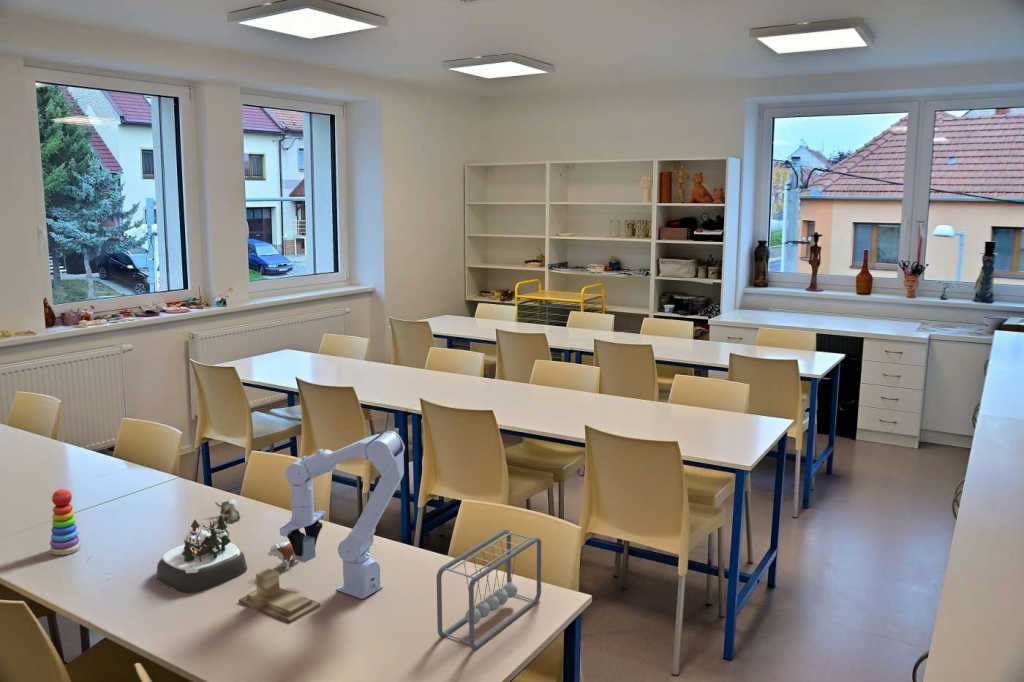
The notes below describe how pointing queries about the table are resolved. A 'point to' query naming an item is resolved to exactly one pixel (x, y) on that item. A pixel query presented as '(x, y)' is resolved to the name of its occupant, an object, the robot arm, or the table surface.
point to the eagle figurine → (229, 511)
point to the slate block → (307, 549)
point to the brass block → (267, 582)
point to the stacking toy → (63, 525)
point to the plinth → (281, 604)
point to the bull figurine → (283, 553)
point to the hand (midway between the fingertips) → (305, 552)
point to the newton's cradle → (498, 596)
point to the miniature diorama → (202, 560)
